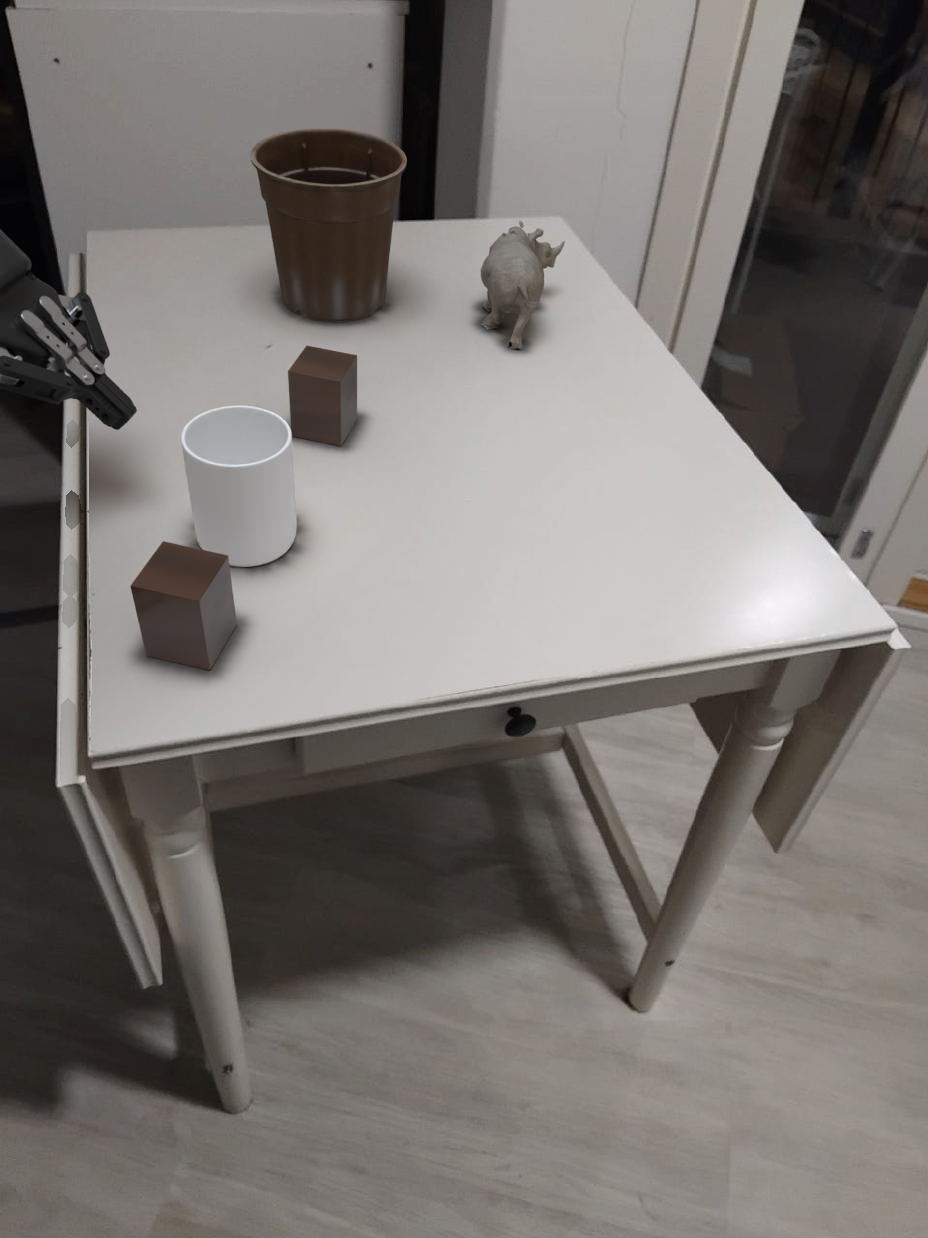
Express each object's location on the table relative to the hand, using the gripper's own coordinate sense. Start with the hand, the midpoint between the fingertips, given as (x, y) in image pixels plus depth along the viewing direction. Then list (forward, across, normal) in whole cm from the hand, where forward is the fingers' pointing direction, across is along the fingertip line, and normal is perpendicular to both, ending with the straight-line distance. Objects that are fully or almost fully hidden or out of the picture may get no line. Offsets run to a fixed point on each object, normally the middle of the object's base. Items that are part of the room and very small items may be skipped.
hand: (127, 420), depth 77 cm
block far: (+13, +15, -3) cm, 20 cm away
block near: (+13, -15, -3) cm, 20 cm away
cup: (+13, -1, -2) cm, 13 cm away
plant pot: (+8, +41, +3) cm, 42 cm away
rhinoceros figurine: (+23, +45, -12) cm, 52 cm away
